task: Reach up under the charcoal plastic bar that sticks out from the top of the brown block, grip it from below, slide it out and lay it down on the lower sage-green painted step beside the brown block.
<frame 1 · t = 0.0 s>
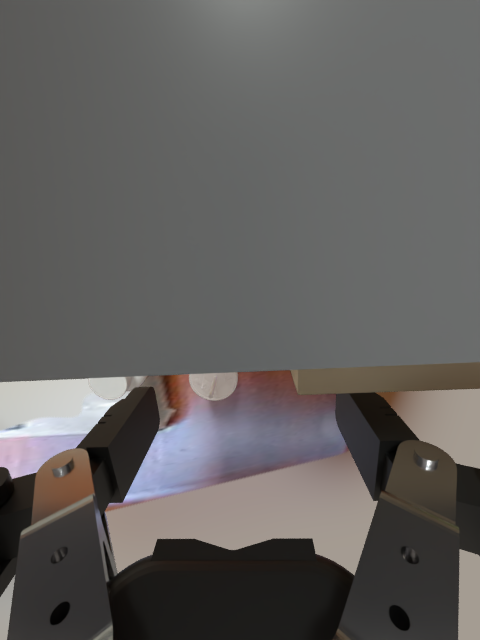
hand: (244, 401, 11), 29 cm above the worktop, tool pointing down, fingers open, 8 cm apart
supplement bottle: (148, 341, 43), on the worktop
smoothie: (221, 349, 43), on the worktop
brown block: (314, 235, 37), on the worktop
bar: (419, 214, 6), point 32 cm above the worktop, touching brown block
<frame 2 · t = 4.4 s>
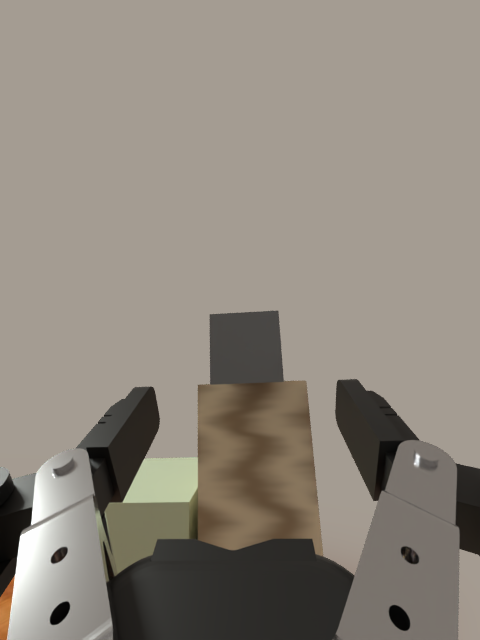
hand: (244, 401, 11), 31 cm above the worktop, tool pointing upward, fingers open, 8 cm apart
bar: (252, 382, 27), point 32 cm above the worktop, touching brown block
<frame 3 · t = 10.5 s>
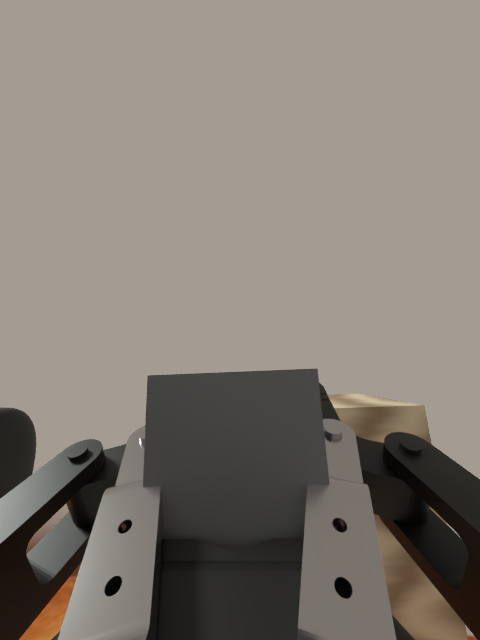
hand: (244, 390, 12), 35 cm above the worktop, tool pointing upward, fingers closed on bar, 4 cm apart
bar: (251, 437, 18), point 31 cm above the worktop, touching gripper
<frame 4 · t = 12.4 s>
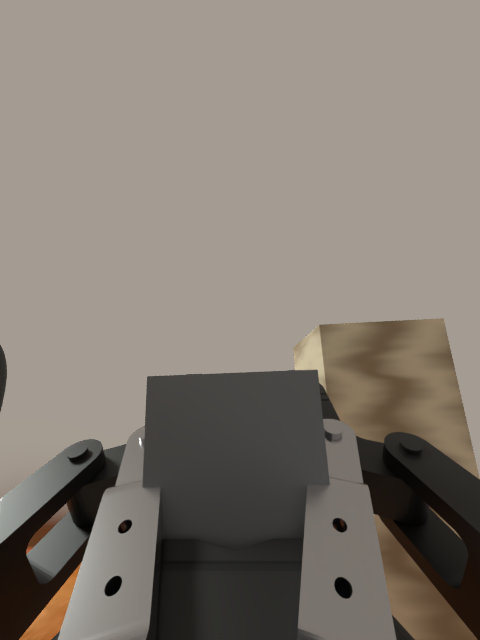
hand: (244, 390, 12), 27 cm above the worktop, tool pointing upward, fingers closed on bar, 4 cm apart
bar: (251, 437, 18), point 24 cm above the worktop, touching gripper
when the fingers open (27 cm above the worktop, at t = 14.2 s): bar drops 2 cm, resting on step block.
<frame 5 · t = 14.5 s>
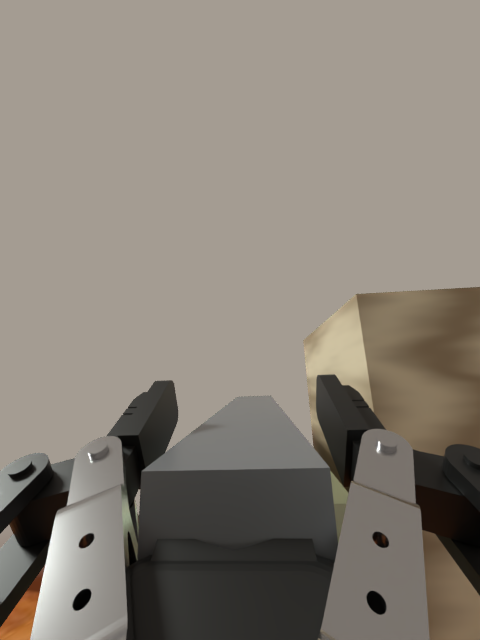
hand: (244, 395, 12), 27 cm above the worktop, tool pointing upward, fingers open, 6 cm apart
bar: (253, 470, 17), point 22 cm above the worktop, touching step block
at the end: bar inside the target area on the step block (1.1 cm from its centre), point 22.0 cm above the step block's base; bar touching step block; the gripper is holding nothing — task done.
